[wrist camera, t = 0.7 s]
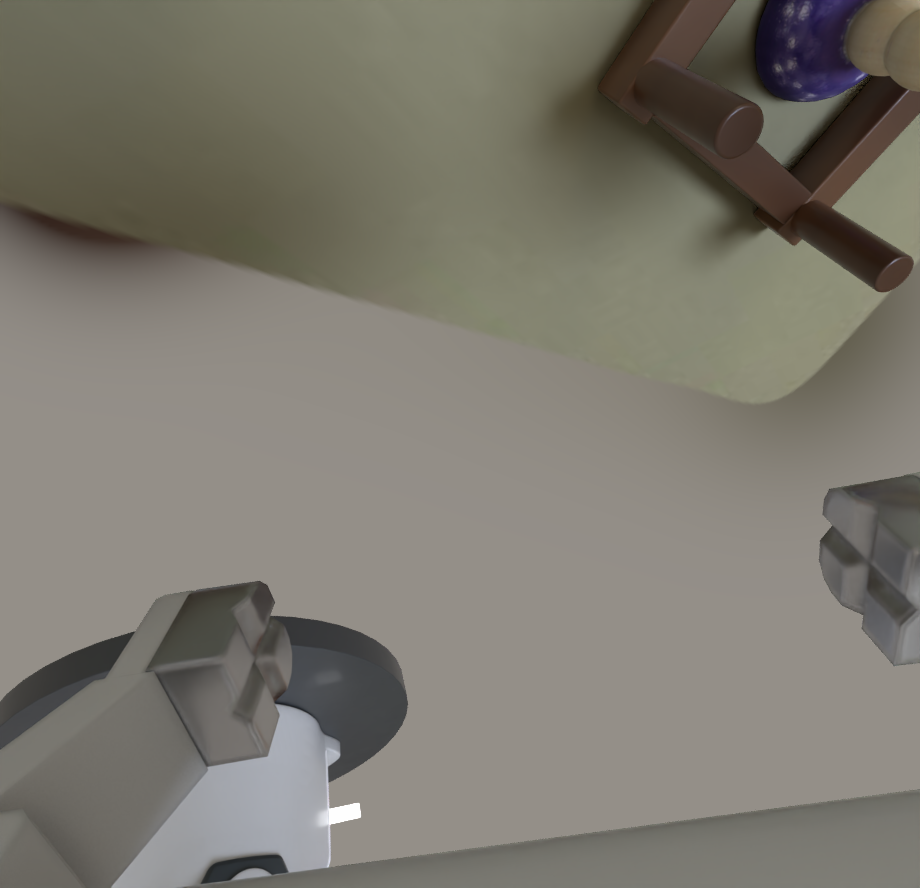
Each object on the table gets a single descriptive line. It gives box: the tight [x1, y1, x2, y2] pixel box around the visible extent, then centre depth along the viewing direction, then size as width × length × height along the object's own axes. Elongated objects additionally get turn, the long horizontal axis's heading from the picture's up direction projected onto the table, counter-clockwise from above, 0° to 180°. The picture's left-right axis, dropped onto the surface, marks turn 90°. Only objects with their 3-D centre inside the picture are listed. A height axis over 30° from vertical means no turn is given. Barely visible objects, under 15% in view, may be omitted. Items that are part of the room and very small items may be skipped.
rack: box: [598, 0, 920, 292], centre depth 16 cm, size 10×9×6 cm
